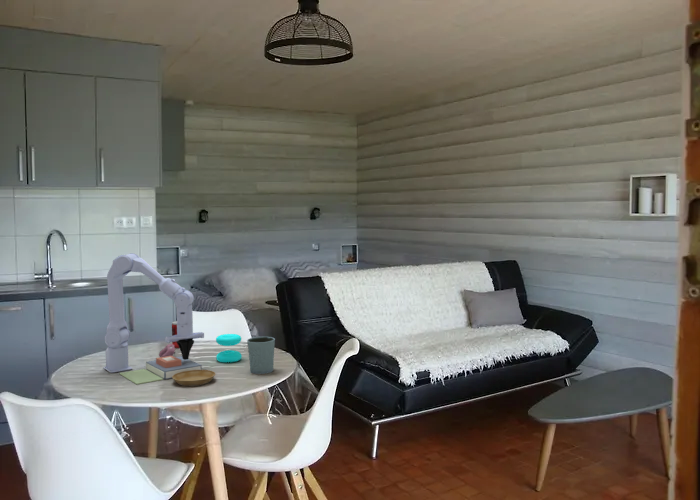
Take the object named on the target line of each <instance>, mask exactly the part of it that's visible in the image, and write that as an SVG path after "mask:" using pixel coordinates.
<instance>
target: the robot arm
mask: <svg viewBox="0 0 700 500" xmlns="http://www.w3.org/2000/svg"><path fill="white" fill-rule="evenodd" d="M131 272H132V273H141V274H142V275H144V276H146V277H147V278H148V279H150V280H151V281H153V283H155V284H157V285H158V288H159V291H160V292H162V293H163V294H165V296H167V297H168V298H169V299H170V300H172V301H173V303H174V304H175V306H176V321H177V335H173V336H172V335H170V336H169V335H168V336H165V339H164V340H165V343H166V344H171V343H172V342H175V341H176V343H177V344H178V346H179V348H178V349H179V351H180V354H181V356H182V357H183V359H184V360H187V359H189V356H190V353H191V350H192V347H193V345H194V344H195V339H204V338H205V332H202V331H201V332H200V331H199V332H194V327H193V324H194V323H193V318H194V317H193V316H194V315H193V302H194V301H195V297H194V294H193V293H192V291H191V290H188V289H186V287H182V286H181V285H180V284H178V283H177V282H176V279H174V278H170V277H167V278H166V277H164V276H163V275H161V273H159V272H158V271H157V270H156V269H155V268H153V266H152V265H150V264H149V263H148V262H147V261H146V260H145V259H144V258H142V257H141V256H139V255H138V254H137V253H127V254H121V255H118V256H117V257H115V258H114V259H113V260H112V264H111V267H110V268H109V270H108V272H107V275H106V280H107V294H108V295H107V299H108V316H109V318H108V319H109V322H108V324H107V326H106V332H105V335H104V342H105V344H106V346H107V348H106V350H105V366H103V369H104V370H106V371H108V372H109V373H113V374H114V373H117V372H118V373H120V372H126V371H129V370H130V371H132V370H133V367H131V366H130V365H129V343H128V341H129V340H130V338H131V332H130V330H129V327H128V322H127V321H126V320H125V304H124V303H125V302H124V283H123V279H124V278H125V277H126V276H127V275H128V274H129V273H131Z"/></svg>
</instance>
